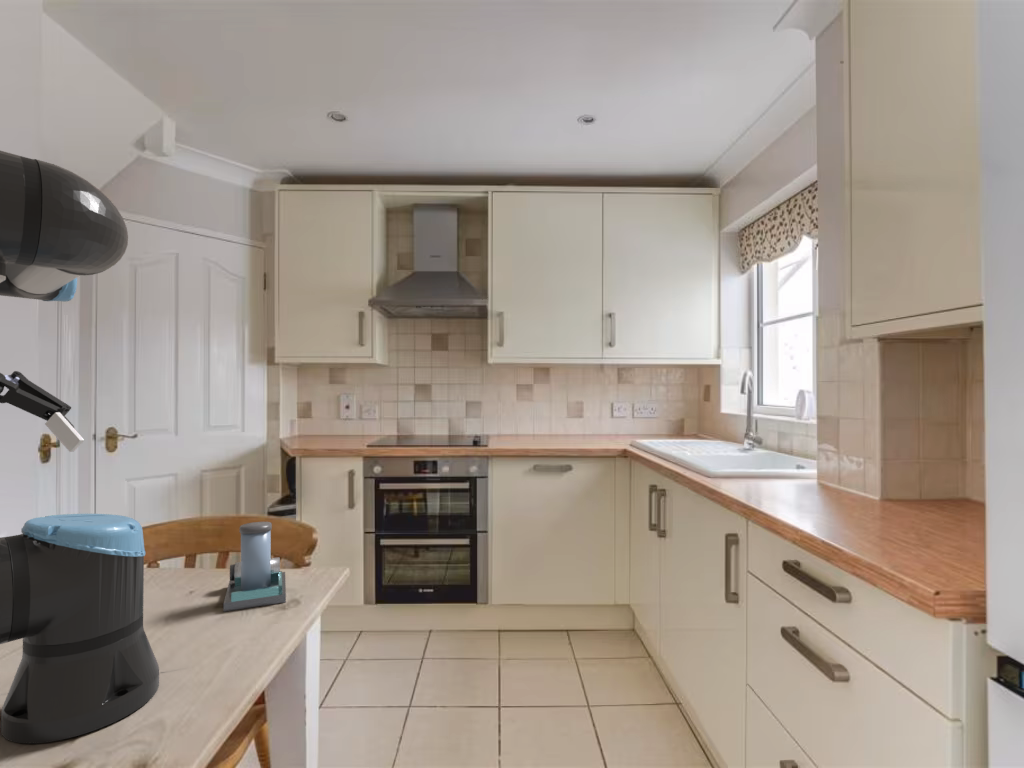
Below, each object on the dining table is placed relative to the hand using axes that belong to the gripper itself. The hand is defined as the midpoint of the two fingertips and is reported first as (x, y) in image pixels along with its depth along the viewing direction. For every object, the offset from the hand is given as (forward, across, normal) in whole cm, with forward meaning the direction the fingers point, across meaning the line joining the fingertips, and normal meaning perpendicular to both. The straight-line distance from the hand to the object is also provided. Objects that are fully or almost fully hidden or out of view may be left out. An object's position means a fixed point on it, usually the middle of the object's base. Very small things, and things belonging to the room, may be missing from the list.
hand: (35, 450), depth 80 cm
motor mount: (+36, -23, -6) cm, 43 cm away
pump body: (+36, -21, -4) cm, 42 cm away
